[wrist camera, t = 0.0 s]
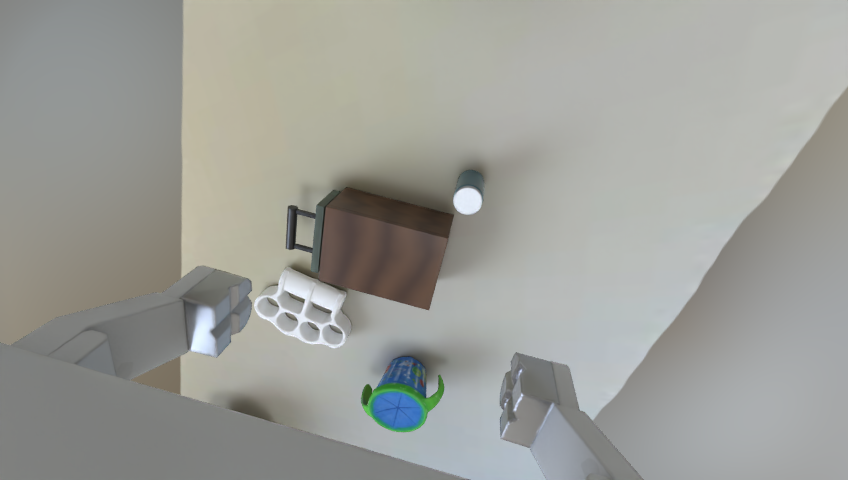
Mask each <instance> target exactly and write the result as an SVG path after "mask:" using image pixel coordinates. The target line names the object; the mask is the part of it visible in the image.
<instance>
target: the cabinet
mask: <svg viewBox="0 0 848 480" xmlns="http://www.w3.org/2000/svg"><path fill="white" fill-rule="evenodd" d="M453 217H454V215H452V214H448V213H444V212H440V211H437V210H433V209H429V208H425V207H421V206H417V205H413V204H410V203H406V202H402V201H398V200H394V199H390V198H386V197H383V196H379V195H375V194H371V193H367V192H363V191H360V190H356V189H352V188H348V187H346V188H345V189H344V190H343V191H342V192H341V193H340V194H339V195H338V196H337V197H335V198H334V199H333V200H332V201H331V202H330V203H329V204H328V205H327V206H326V210H325V220H324V230H323V240H322V250H321V260H320V270H319V281H323V282H327V283H331V284H334V285H338V286H342V287H345V288H349V289H353V290H356V291H360V292H364V293H367V294H371V295H375V296H378V297H382V298H386V299H389V300H393V301H397V302H400V303H404V304H408V305H411V306H415V307H419V308H422V309H426V310H429V308H430V305H431V301H432V297H433V293H434V290H435V286H436V282H437V279H438V275H439V271H440V267H441V264H442V260H443V256H444V253H445V249H446V245H447V242H448V238H449V234H450V229H451V225H452V221H453Z"/></svg>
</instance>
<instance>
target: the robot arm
mask: <svg viewBox="0 0 848 480" xmlns="http://www.w3.org/2000/svg"><path fill="white" fill-rule="evenodd" d="M251 291H252V283H251V281H250V280H249V279H248V278H245V277H241V276H238V275H235V274H231V273H228V272H225V271H221V270H217V269H214V268H210V267H207V266H198V267H196V268H195V269H193V270H192V271H191V272H189V273H188V274H187V275H185V276H184V277H183V278H181V279H180V280H179V281H177V282H176V283H175V284H173V285H172V286H170V287H169V288H168V289H166V290H165V291H164V292H162V293H157V292H155V293H151V294H147V295H143V296H139V297H135V298H131V299H128V300H123V301H119V302H115V303H112V304H107V305H104V306H99V307H96V308H92V309H88V310H84V311H80V312H76V313H72V314H68V315H64V316H60V317H56V318H54V319H52V320H51V321H49V322H47V323H46V324H44V325H43V326H41V327H39V328H38V329H36V330H34V331H33V332H31V333H30V334H28V335H26V336H25V337H23V338H21V339H20V340H18V341H17V342H15V343H13V344H12V345H7V344H4V343H0V480H469V479H466V478H463V477H459V476H456V475H452V474H449V473H445V472H442V471H439V470H435V469H432V468H428V467H425V466H422V465H418V464H415V463H411V462H408V461H405V460H401V459H398V458H394V457H391V456H387V455H384V454H381V453H377V452H374V451H370V450H367V449H364V448H360V447H357V446H353V445H350V444H346V443H343V442H340V441H336V440H333V439H329V438H326V437H322V436H319V435H316V434H312V433H309V432H305V431H302V430H298V429H295V428H292V427H288V426H285V425H281V424H278V423H274V422H271V421H267V420H264V419H261V418H257V417H254V416H250V415H247V414H243V413H240V412H237V411H233V410H230V409H226V408H223V407H220V406H216V405H213V404H209V403H206V402H202V401H199V400H196V399H192V398H189V397H185V396H182V395H178V394H175V393H172V392H168V391H165V390H161V389H158V388H154V387H151V386H148V385H144V384H141V383H137V382H134V381H130V380H131V379H133V378H135V377H137V376H139V375H141V374H143V373H146V372H148V371H150V370H152V369H154V368H156V367H158V366H160V365H162V364H164V363H166V362H168V361H170V360H173V359H175V358H177V357H179V356H181V355H183V354H185V353H187V352H188V350H189V351H193V352H196V353H200V354H204V355H208V356H212V357H216V358H217V357H218V356H219V355H220V354H221V353H222V351H223V350H224V349H225V348H226V347H227V346H228V345H229V344H230V343H231V335H233V334H236V333H239V332H240V331H241V330H242V329H243V328H244V327H245V325H246V323H247V321H248V319H249V317H250V314H251V310H252V302H251V300H250V299H249V297H248V296H247V295H248V294H249V293H250V292H251ZM500 406H501V408H502V409H503V410H504V411H503V413H502V415H501V417H500V434H501V439H503V440H506V441H509V442H512V443H515V444H519V445H522V446H525V447H528V448H531V449H530V450H531V452H532V454H533V456H534V458H535V460H536V461H537V463H538V465H539V467H540V469H541V470H542V472H543V474H544V476H545V478H546V480H644V479H643V478H642V477H641V476H640V475H639V474H638V473H637V471H636V470H635V469H634V468H633V467H632V466H631V465H630V463H629V462H628V461H627V460H626V459H625V458H624V456H623V455H622V454H621V453H620V452H619V451H618V450H617V448H615V446H614V445H613V444H612V443H611V442H610V441H609V439H608V438H607V437H606V436H605V435H604V434H603V432H602V431H601V430H600V429H599V428H598V427H597V426H596V425H595V424H594V422H593V421H592V420H591V419H590V418H589V416H588V415H587V414H586V413H585V412H583V411H580V410H579V406H578V402H577V397H576V393H575V389H574V385H573V381H572V377H571V373H570V369H569V367H568V366H567V365H564V364H560V363H556V362H552V361H547V360H543V359H539V358H536V357H532V356H528V355H524V354H521V353H517V352H516V353H515V354H514V356H513V358H512V360H511V371H509V372H507V373H506V374H505V377H504V380H503V383H502V387H501V392H500Z"/></svg>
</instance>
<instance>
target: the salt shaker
mask: <svg viewBox="0 0 848 480" xmlns="http://www.w3.org/2000/svg"><path fill="white" fill-rule="evenodd" d="M483 196H484V178H483V176H482V175H481V174H480V173H479V172H477V171H475V170H467V171H465V172H463V173H462V174H461V175H460V176H459V178H458V181H457V185H456V189H455V192H454V196H453V203H454V206H455V208H456V210H457V211H459V212H460V213H462V214H465V215H471V214H474V213H476V212H477V211H478V210H479V209H480V208H481V206H482V203H483Z"/></svg>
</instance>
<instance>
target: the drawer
mask: <svg viewBox="0 0 848 480" xmlns="http://www.w3.org/2000/svg"><path fill="white" fill-rule="evenodd" d="M340 193H341V192H340V191H337V190H333V191H332V192H331V193H330V194H328V195H327V196H326V197H325V198H324V199H323V200H322V201H321V202H319V203H318V204H317V205H316V214H315V213H311V212H307V211H304V210H300V209H298V207H297V206H294V205H290V206H288V214H287V234H286V248H287V249H289V250H292V249H299V250H303V251H306V252H310V253H312V263H311V271H312V272H316V273H318V272H319V270H320V260H321V250H322V240H323V230H324V220H325V210H326V206H327V205H328V204H329V203H330V202H331V201H332V200H333V199H334V198H335V197H337V196H338V195H339V194H340ZM297 214H299V215H302V216H306V217H310V218H314V219H315V228H314V240H313V248H311V247H307V246H303V245H300V244H295V243H296V228H297Z"/></svg>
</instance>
